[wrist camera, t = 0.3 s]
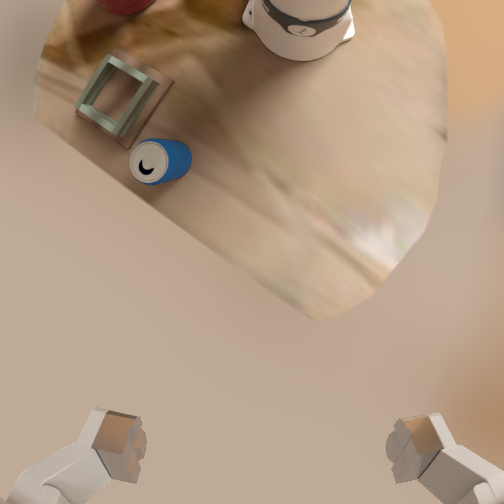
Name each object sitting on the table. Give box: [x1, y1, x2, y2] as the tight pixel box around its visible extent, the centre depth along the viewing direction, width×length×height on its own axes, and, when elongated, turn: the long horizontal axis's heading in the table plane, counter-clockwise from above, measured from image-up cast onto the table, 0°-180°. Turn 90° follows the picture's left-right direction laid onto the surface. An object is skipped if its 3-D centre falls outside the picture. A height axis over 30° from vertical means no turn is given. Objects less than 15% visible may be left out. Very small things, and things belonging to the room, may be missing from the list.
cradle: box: [74, 48, 174, 149], centre depth 46 cm, size 14×14×4 cm
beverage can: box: [130, 138, 192, 185], centre depth 46 cm, size 6×6×12 cm
